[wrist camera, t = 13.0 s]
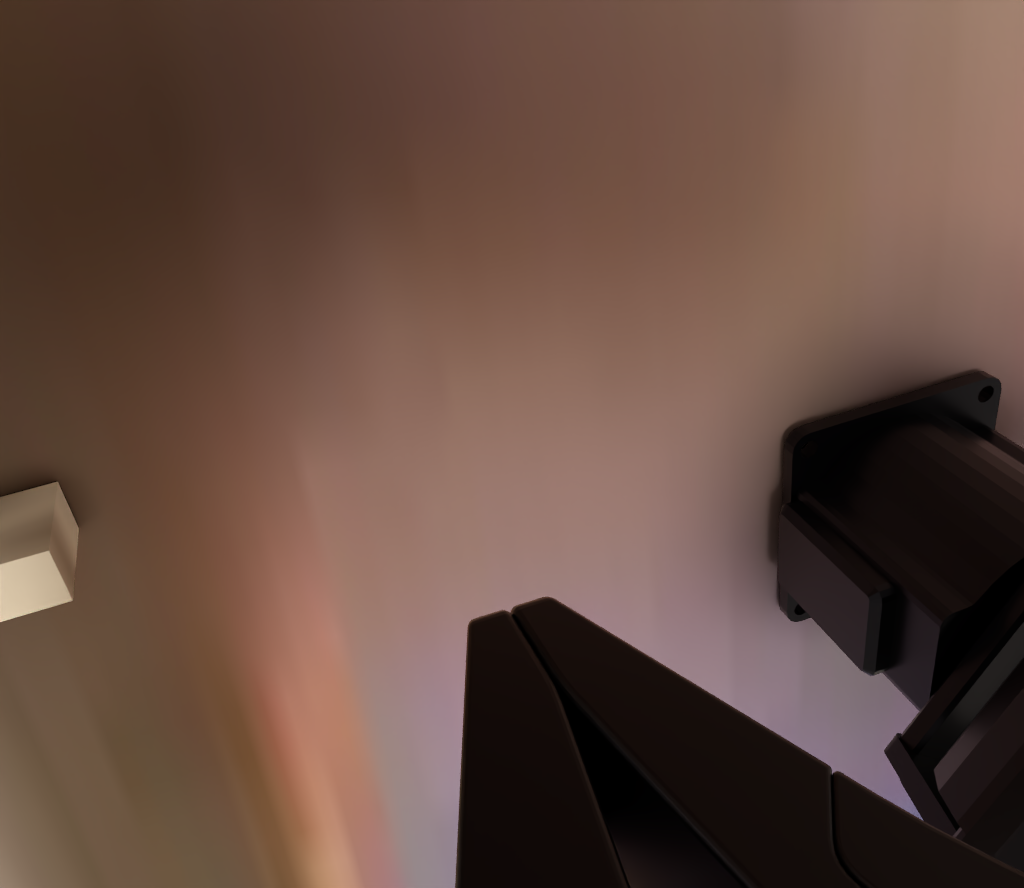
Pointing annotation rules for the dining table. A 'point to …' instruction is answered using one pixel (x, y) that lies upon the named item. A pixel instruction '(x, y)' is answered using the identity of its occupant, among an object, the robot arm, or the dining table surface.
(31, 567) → the bay
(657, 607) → the dining table surface
